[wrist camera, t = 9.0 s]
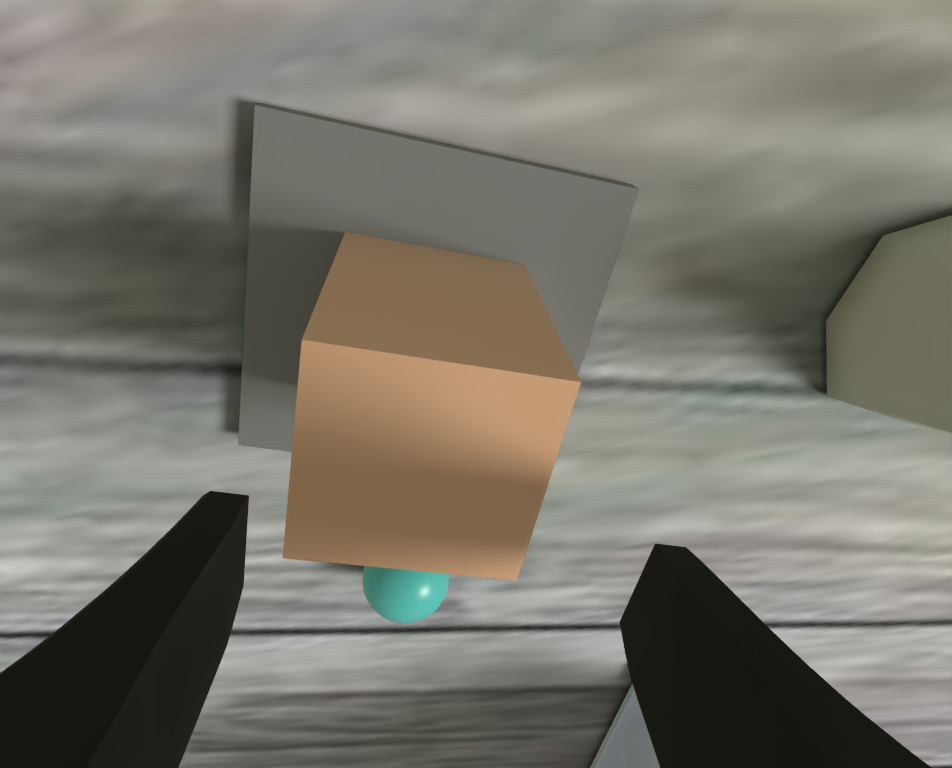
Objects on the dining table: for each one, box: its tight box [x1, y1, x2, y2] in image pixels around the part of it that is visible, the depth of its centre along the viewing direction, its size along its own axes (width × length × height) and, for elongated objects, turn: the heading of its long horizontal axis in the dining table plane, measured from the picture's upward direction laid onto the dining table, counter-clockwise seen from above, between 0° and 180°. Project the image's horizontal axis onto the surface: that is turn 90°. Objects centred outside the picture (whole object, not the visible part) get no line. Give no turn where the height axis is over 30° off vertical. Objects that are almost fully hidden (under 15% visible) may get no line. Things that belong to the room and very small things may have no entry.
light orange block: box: [283, 232, 581, 580], centre depth 15 cm, size 5×5×7 cm
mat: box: [238, 103, 638, 452], centre depth 18 cm, size 10×10×1 cm
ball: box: [363, 566, 449, 623], centre depth 22 cm, size 3×3×3 cm
